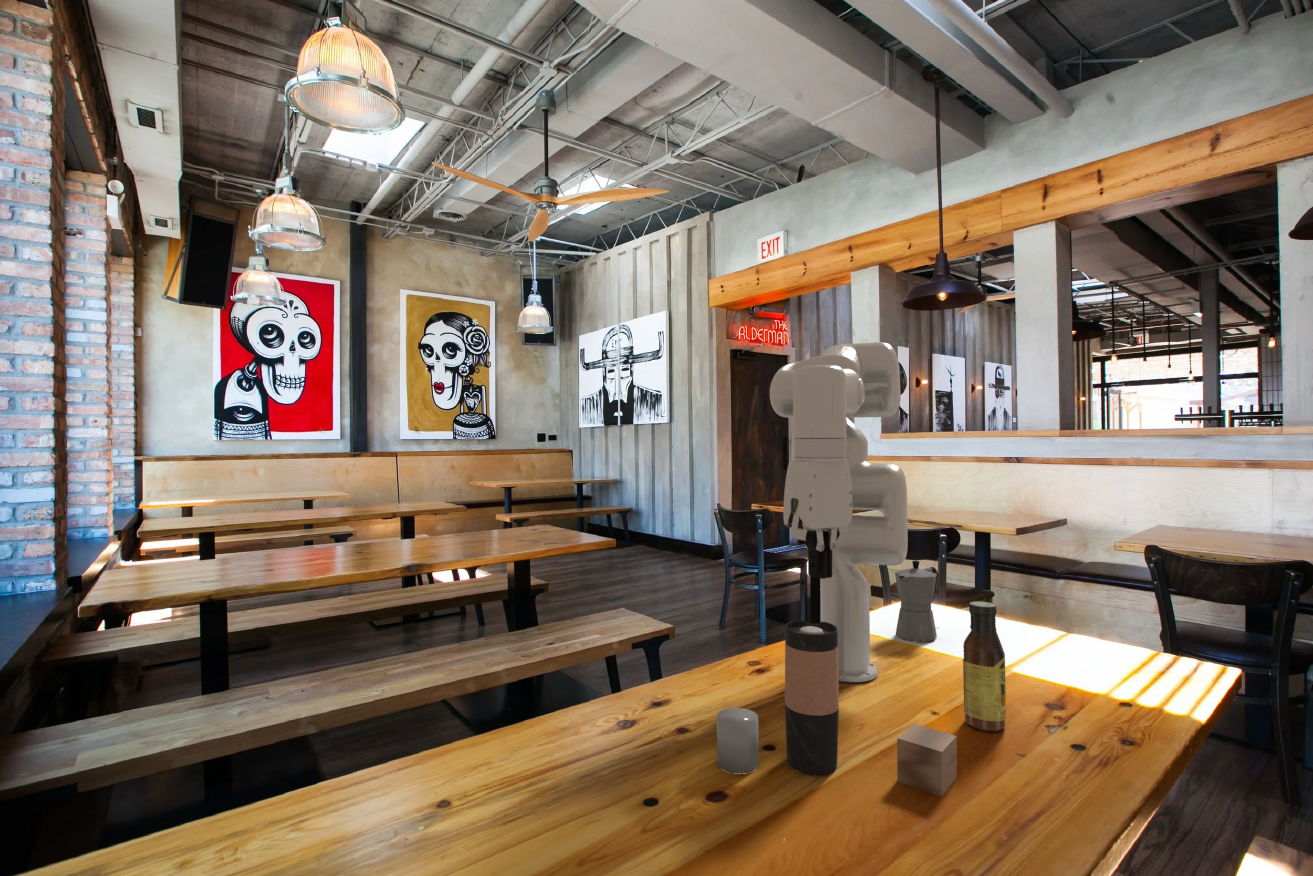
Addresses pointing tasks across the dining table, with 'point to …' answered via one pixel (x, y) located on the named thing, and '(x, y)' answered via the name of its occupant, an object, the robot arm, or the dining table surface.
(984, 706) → the sauce bottle
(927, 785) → the grey cube
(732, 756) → the grey rounded cylinder
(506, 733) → the dining table surface
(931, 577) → the coffeepot
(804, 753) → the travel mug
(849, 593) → the robot arm
